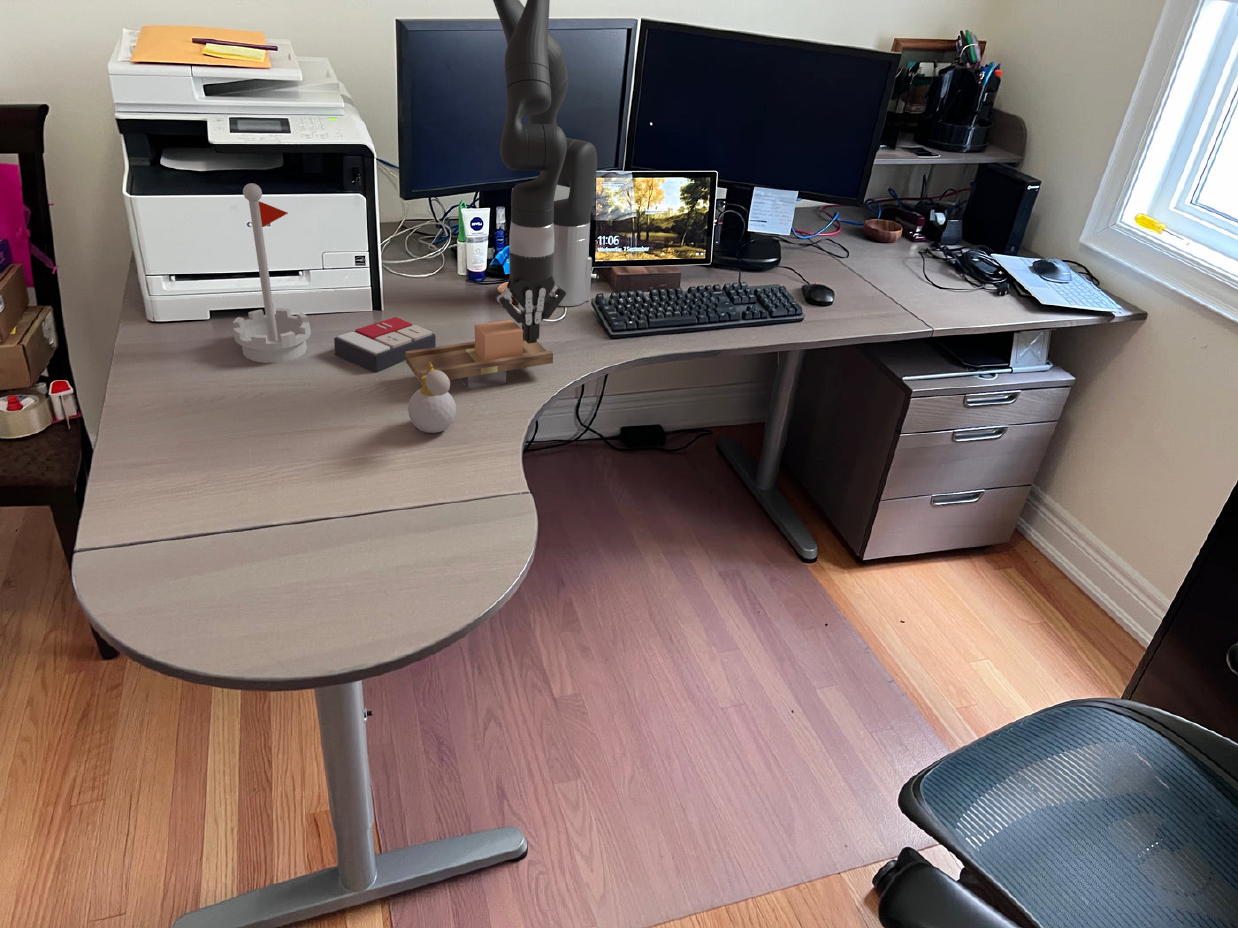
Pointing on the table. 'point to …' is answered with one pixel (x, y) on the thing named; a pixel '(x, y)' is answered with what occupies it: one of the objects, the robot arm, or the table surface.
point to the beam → (474, 363)
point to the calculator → (382, 343)
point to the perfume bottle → (432, 403)
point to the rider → (498, 340)
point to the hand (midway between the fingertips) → (530, 341)
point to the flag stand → (268, 302)
